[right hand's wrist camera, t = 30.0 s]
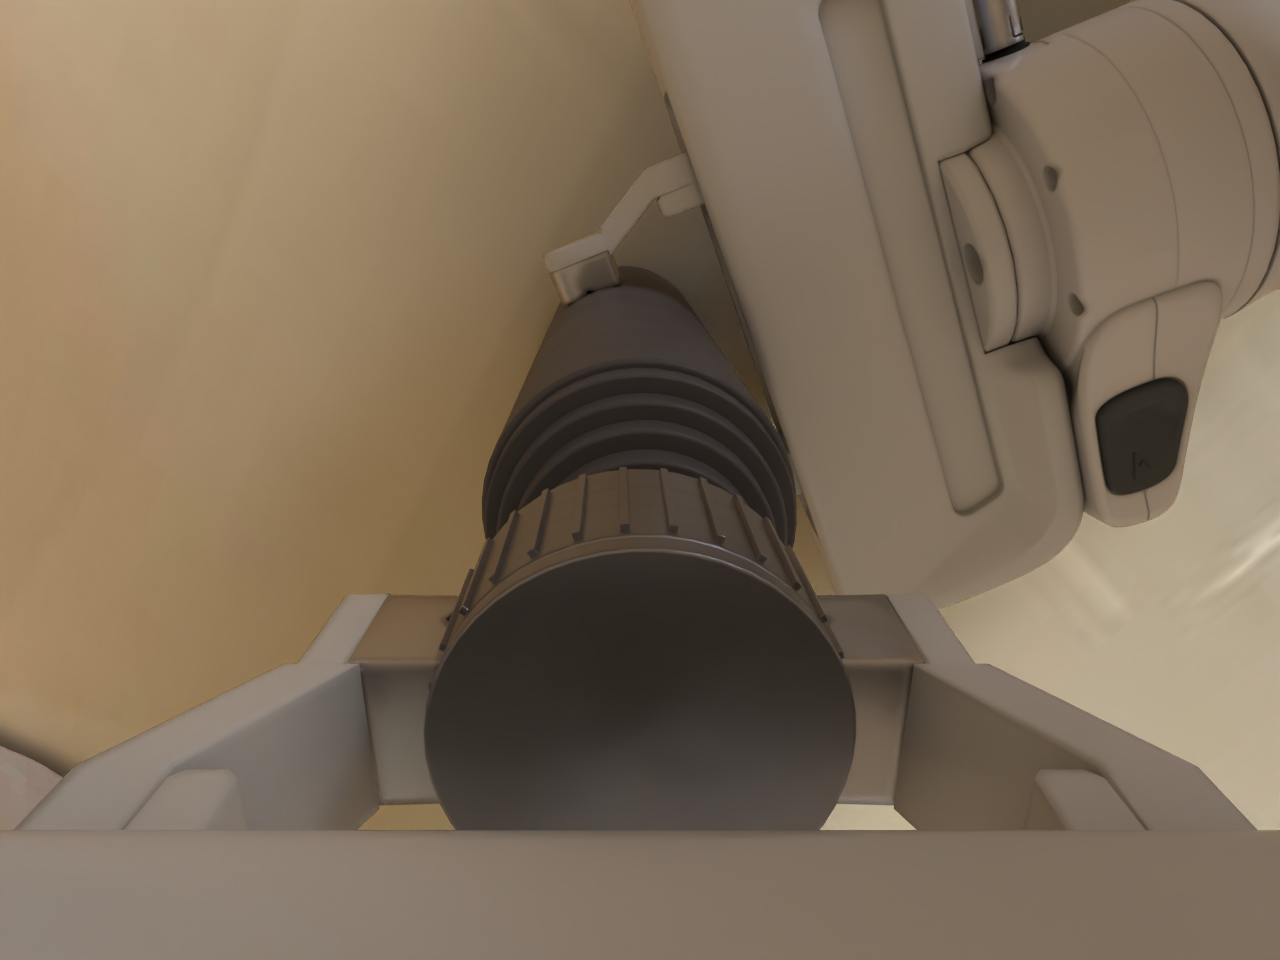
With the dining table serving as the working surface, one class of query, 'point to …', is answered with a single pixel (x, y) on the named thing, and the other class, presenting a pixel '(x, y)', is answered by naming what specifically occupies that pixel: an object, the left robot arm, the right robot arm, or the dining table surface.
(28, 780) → the arrowhead
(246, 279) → the dining table surface
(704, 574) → the cap
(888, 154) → the left robot arm
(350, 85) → the dining table surface
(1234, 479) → the dining table surface
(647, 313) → the bottle
